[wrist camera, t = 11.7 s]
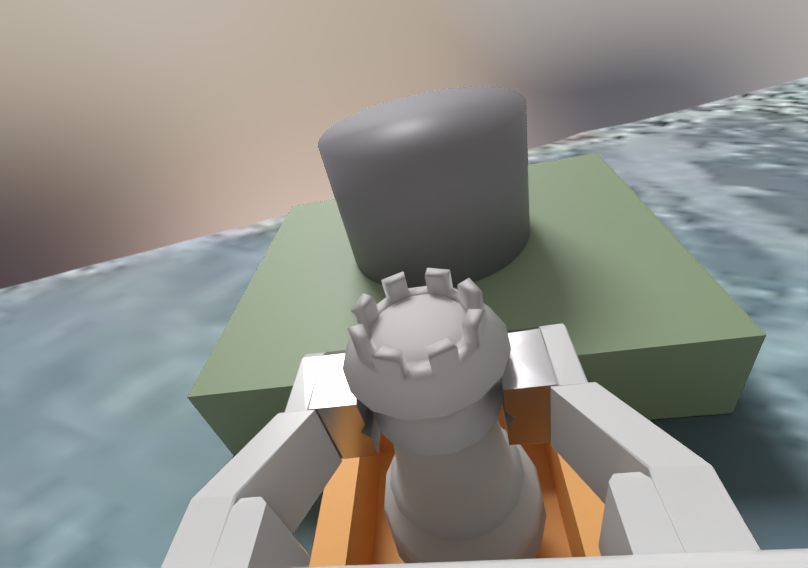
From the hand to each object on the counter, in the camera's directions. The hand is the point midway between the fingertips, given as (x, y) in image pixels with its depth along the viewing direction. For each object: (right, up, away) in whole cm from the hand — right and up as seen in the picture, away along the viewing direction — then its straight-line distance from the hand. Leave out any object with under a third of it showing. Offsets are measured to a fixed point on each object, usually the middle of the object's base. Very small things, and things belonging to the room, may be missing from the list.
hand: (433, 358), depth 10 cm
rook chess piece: (+1, -5, +3) cm, 6 cm away
